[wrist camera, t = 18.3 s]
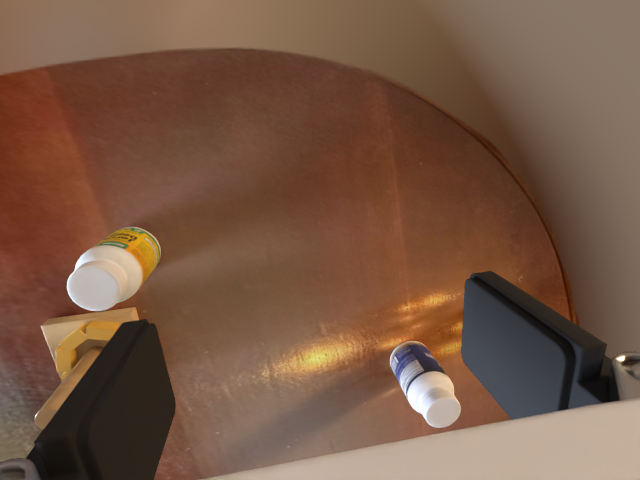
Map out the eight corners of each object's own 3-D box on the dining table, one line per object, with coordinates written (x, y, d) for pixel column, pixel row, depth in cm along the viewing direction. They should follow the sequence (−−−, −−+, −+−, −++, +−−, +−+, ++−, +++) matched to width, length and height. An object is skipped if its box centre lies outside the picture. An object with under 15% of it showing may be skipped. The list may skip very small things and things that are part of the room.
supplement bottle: (119, 278, 38) (73, 326, 29) (99, 232, 36) (43, 267, 27) (169, 266, 38) (139, 309, 29) (152, 219, 36) (114, 250, 27)
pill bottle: (435, 353, 47) (477, 409, 38) (406, 380, 47) (440, 441, 38) (410, 331, 45) (447, 383, 36) (380, 359, 46) (409, 418, 37)
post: (48, 318, 38) (-29, 386, 28) (135, 306, 39) (91, 367, 29) (73, 386, 41) (11, 469, 31) (154, 373, 42) (119, 450, 32)
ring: (61, 318, 36) (54, 325, 35) (147, 324, 38) (143, 331, 37) (64, 385, 39) (57, 394, 37) (145, 388, 40) (141, 397, 39)
